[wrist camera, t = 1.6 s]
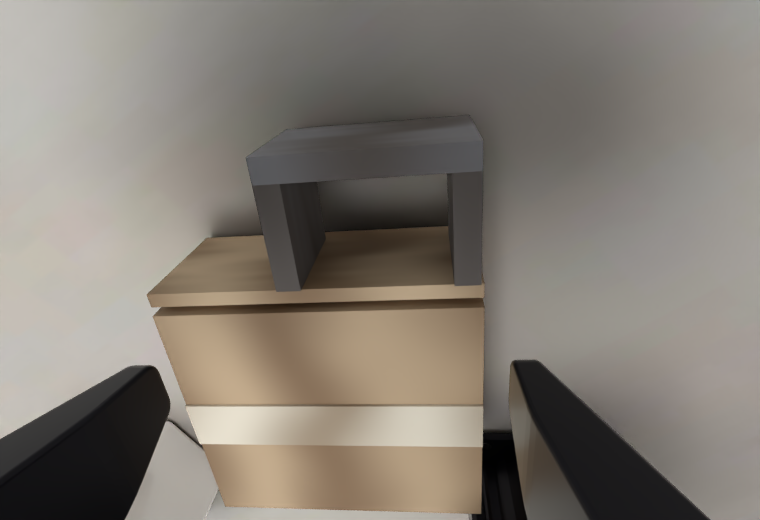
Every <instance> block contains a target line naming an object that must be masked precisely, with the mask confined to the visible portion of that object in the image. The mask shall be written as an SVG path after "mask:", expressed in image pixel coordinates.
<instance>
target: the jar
mask: <svg viewBox="0 0 760 520" xmlns="http://www.w3.org/2000/svg"><path fill="white" fill-rule="evenodd" d="M218 489H219V488H218V486H217V483H216V481H215V478H214V475H213V473H212V470H211V467H210V465H209V462H208V460H207V457H206V454H205V452H204V450H203V449H202V448H201V447H200V446H199V445H197V444H196V443H195V442H194V441H193V440H192V439H190V438H189V437H188V436H187V435H186V434H185V433H183V432H182V431H181V430H180V429H179V428H178V427H176V426H175V425H174V424H173V423H172V422H170V421H166V423H165V425H164V428H163V430H162V433H161V435H160V438H159V441H158V443H157V446H156V448H155V451H154V453H153V456H152V459H151V461H150V464H149V466H148V469H147V471H146V474H145V476H144V479H143V482H142V484H141V486H140V489H139V491H138V493H137V496H136V498H135V500H134V502H133V504H132V506H131V509H130V511H129V513H128V515H127V517H126V519H125V520H205V519H206V517H207V515H208V513H209V510H210V508H211V506H212V503H213V501H214V499H215V496H216V494H217V492H218Z"/></svg>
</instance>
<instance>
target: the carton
mask: <svg viewBox="0 0 760 520" xmlns="http://www.w3.org/2000/svg"><path fill="white" fill-rule="evenodd" d="M484 313H485V307H484V303H483V298H453V299H419V300H385V301H351V302H317V303H283V304H249V305H214V306H180V307H161V308H160V309H159V310H158V311H157V312H156V313H155V315H154V316H153V319H154V321H155V324H156V326H157V329H158V332H159V334H160V337H161V340H162V342H163V345H164V347H165V350H166V353H167V355H168V358H169V360H170V363H171V366H172V368H173V371H174V373H175V376H176V379H177V381H178V384H179V387H180V389H181V392H182V394H183V397H184V400H185V402H186V406H185V407H186V410H187V413H188V415H189V418H190V420H191V423H192V426H193V428H194V431H195V433H196V436H197V439H198V441H199V444H202V447H203V449H204V452H205V454H206V457H207V460H208V462H209V465H210V467H211V470H212V473H213V475H214V478H215V481H216V483H217V486H218V488H219V491H220V494H221V496H222V499H223V501H224V504H225V507H259V508H294V509H328V510H363V511H398V512H432V513H467V514H481V494H482V447H483V373H484Z"/></svg>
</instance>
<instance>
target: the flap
mask: <svg viewBox="0 0 760 520" xmlns="http://www.w3.org/2000/svg"><path fill="white" fill-rule="evenodd" d="M246 161H247V166H248V170H249V174H250V179H251V183H252V188H253V192H254V196H255V201H256V205H257V210H258V214H259V218H260V223H261V227H262V232H263V235H256V236H236V237H216V238H206V239H205V240H204V241H203V242H202V243H201V244H200V245H199V246H198V247H197V248H196V249H195V250H194V251H193V252H191V253H190V254H189V255H188V256H187V257H186V258H185V259H184V260H183V261H182V262H181V263H180V264H179V265H178V266H177V267H176V268H174V269H173V270H172V271H171V272H170V273H169V274H168V275H167V276H166V277H165V278H164V279H163V280H162V281H161V282H160V283H158V284H157V285H156V286H155V287H154V288H153V289H152V290H151V291H150V292H149V293H148V294H147V297H148V300H149V302H150V305H151V307H180V306H214V305H249V304H283V303H317V302H351V301H385V300H419V299H453V298H484V288H485V283H484V279H483V275H482V211H483V139H482V137H481V135H480V133H479V131H478V130H477V128H476V126H475V124H474V122H473V120H472V118H471V117H470V115H463V116H450V117H438V118H425V119H412V120H399V121H387V122H374V123H361V124H349V125H336V126H323V127H311V128H298V129H286V130H285V131H283V132H282V133H280V134H279V135H277V136H276V137H275V138H273V139H272V140H270V141H269V142H267V143H266V144H264V145H263V146H262V147H260V148H259V149H257V150H256V151H254V152H253V153H252V154H250V155H249V156H247V157H246ZM445 173H447V191H448V226H440V227H420V228H399V229H379V230H358V231H338V232H325V231H324V224H323V218H322V212H321V206H320V199H319V193H318V187H317V182H318V181H334V180H350V179H366V178H381V177H397V176H413V175H429V174H445Z"/></svg>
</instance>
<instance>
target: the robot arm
mask: <svg viewBox="0 0 760 520" xmlns="http://www.w3.org/2000/svg"><path fill="white" fill-rule="evenodd" d="M169 411H170V399H169V396H168V393H167V391H166V389H165V386H164V384H163V381H162V379H161V376H160V374H159V372H158V370H157V369H156V368H155V367H154V366H151V365H135V366H130V367H127V368H125V369H124V370H122V371H120V372H118V373H116V374H115V375H113V376H111V377H109V378H108V379H106V380H104V381H102V382H101V383H99V384H97V385H95V386H93V387H92V388H90V389H88V390H86V391H85V392H83V393H81V394H79V395H78V396H76V397H74V398H72V399H70V400H69V401H67V402H65V403H63V404H62V405H60V406H58V407H56V408H55V409H53V410H51V411H49V412H47V413H46V414H44V415H42V416H40V417H39V418H37V419H35V420H33V421H32V422H30V423H28V424H26V425H24V426H23V427H21V428H19V429H17V430H16V431H14V432H12V433H10V434H9V435H7V436H5V437H3V438H1V439H0V520H125V519H126V517H127V515H128V513H129V511H130V509H131V506H132V504H133V502H134V500H135V498H136V496H137V493H138V491H139V489H140V486H141V484H142V482H143V479H144V476H145V474H146V471H147V469H148V466H149V464H150V461H151V459H152V456H153V453H154V451H155V448H156V446H157V443H158V441H159V438H160V435H161V433H162V430H163V428H164V425H165V423H166V420H167V418H168V415H169ZM509 411H510V418H511V425H512V432H513V433H484V434H483V447H482V494H481V514H469V520H710V519H709V518H708V517H707V516H706V515H705V514H704V513H703V512H702V511H701V510H700V509H698V508H697V507H696V506H695V505H694V504H693V503H692V502H691V501H690V500H689V499H688V498H687V497H685V496H684V495H683V494H682V493H681V492H680V491H679V490H678V489H677V488H676V487H675V486H674V485H673V484H671V483H670V482H669V481H668V480H667V479H666V478H665V477H664V476H663V475H662V474H661V473H660V472H658V471H657V470H656V469H655V468H654V467H653V466H652V465H651V464H650V463H649V462H648V461H647V460H645V459H644V458H643V457H642V456H641V455H640V454H639V453H638V452H637V451H636V450H635V449H634V448H633V447H631V446H630V445H629V444H628V443H627V442H626V441H625V440H624V439H623V438H622V437H621V436H620V435H618V434H617V433H616V432H615V431H614V430H613V429H612V428H611V427H610V426H609V425H608V424H607V423H606V422H604V421H603V420H602V419H601V418H600V417H599V416H598V415H597V414H596V413H595V412H594V411H593V410H591V409H590V408H589V407H588V406H587V405H586V404H585V403H584V402H583V401H582V400H581V399H580V398H578V397H577V396H576V395H575V394H574V393H573V392H572V391H571V390H570V389H569V388H568V387H567V386H566V385H564V384H563V383H562V382H561V381H560V380H559V379H558V378H557V377H556V376H555V375H554V374H553V373H551V372H550V371H549V370H548V369H547V368H546V367H545V366H544V365H543V364H542V363H541V362H539V361H537V360H514V361H512V363H511V366H510V383H509ZM484 443H487V444H484Z"/></svg>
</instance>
